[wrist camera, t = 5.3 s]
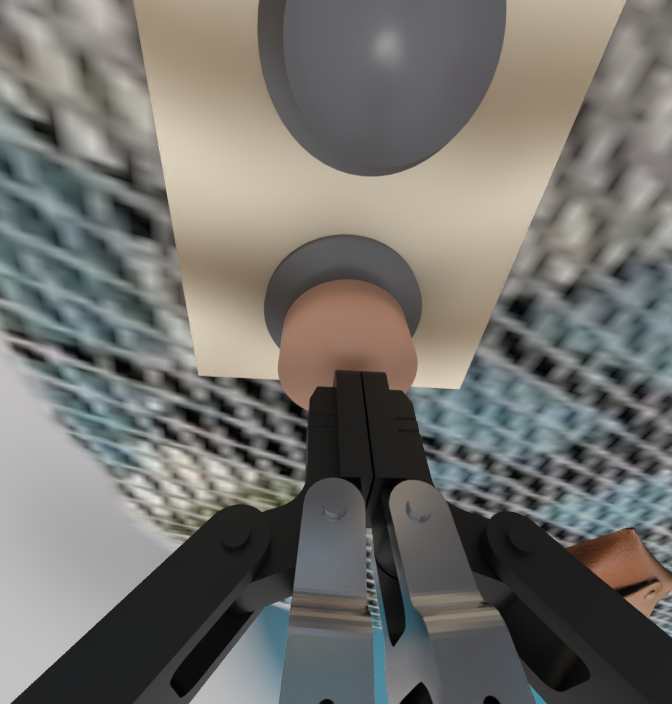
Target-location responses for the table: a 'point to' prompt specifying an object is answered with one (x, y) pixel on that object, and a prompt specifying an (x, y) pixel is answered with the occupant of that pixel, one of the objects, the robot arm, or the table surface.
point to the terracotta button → (344, 338)
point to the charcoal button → (391, 71)
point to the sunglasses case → (626, 568)
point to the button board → (350, 181)
